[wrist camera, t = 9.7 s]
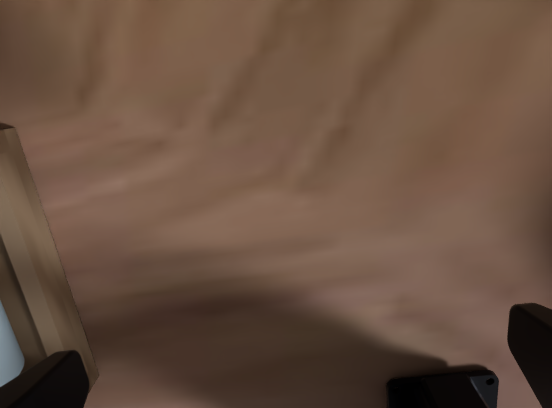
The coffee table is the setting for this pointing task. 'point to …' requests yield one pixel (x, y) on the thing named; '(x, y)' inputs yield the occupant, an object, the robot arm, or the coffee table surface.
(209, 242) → the coffee table surface
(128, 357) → the coffee table surface
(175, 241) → the coffee table surface
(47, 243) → the holder
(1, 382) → the roll
